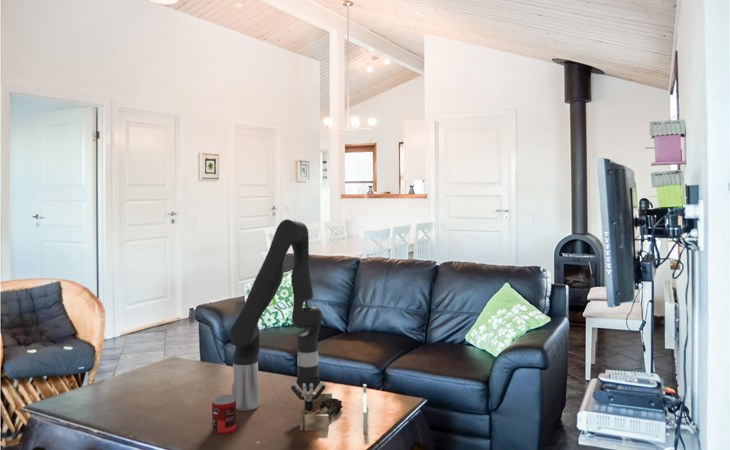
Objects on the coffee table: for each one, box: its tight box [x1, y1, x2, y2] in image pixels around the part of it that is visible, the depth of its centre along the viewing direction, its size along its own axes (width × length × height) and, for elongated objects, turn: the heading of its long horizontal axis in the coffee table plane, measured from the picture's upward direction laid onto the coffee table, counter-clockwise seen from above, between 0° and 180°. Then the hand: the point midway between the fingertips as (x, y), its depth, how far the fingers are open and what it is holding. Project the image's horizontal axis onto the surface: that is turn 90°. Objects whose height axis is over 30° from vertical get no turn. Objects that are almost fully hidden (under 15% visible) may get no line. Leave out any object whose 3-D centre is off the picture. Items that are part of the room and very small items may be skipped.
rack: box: [362, 383, 368, 434], centre depth 197 cm, size 1×28×7 cm, turn 0°
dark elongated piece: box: [314, 397, 343, 419], centre depth 196 cm, size 18×7×6 cm, turn 154°
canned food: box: [211, 394, 237, 436], centre depth 187 cm, size 8×8×11 cm
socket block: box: [299, 391, 333, 431], centre depth 197 cm, size 10×22×5 cm, turn 0°
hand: (309, 410), depth 197 cm, fingers closed
